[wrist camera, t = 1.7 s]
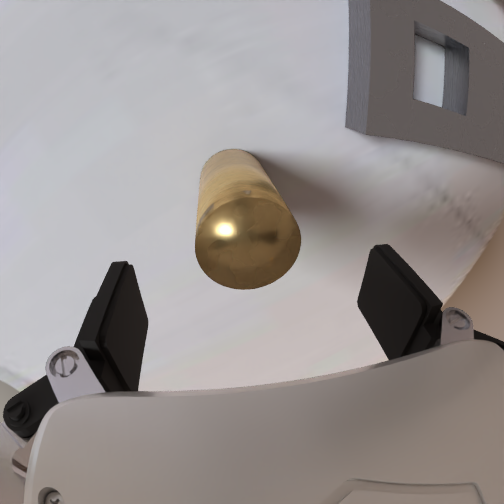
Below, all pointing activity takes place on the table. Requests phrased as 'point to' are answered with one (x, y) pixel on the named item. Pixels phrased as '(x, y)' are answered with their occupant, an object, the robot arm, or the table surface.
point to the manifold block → (402, 77)
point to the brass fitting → (243, 223)
